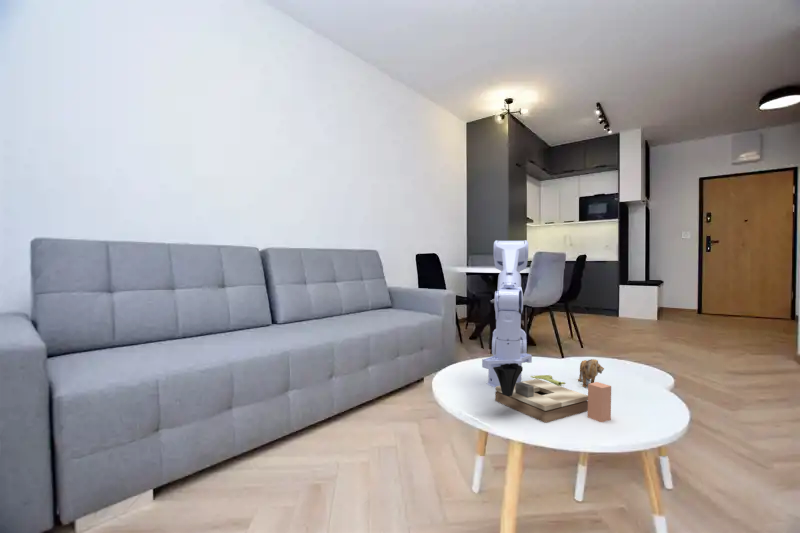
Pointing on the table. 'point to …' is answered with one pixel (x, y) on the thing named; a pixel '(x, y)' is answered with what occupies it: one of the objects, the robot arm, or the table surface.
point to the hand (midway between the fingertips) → (507, 394)
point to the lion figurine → (589, 371)
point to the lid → (551, 400)
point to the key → (548, 379)
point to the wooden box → (539, 413)
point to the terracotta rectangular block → (599, 401)
